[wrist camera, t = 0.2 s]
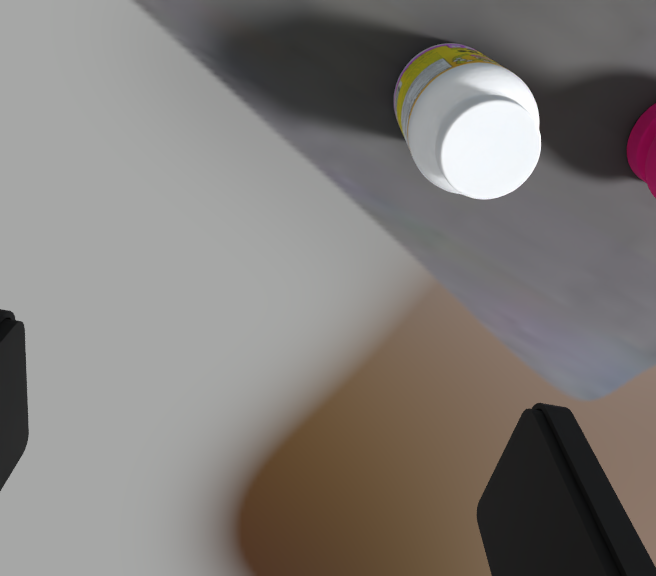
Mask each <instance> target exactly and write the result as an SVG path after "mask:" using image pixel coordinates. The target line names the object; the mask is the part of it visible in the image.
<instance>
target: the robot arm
mask: <svg viewBox="0 0 656 576" xmlns="http://www.w3.org/2000/svg"><path fill="white" fill-rule="evenodd" d="M26 379H27V378H26V353H25V329H24V324H23V322H21V321H16V320H15V316H14V314H13V313H12V312H11V311H6V310H1V309H0V491H1V489H2V487H3V486H4V484H5V482H6V481H7V479H8V478H9V476H10V474H11V473H12V471H13V469H14V468H15V466H16V464H17V463H18V461H19V459H20V458H21V456H22V454H23V452H24V450H25V447H26V445H27V441H28V434H29V432H28V431H29V430H28V405H27V380H26ZM477 522H478V525H479V529H480V533H481V537H482V540H483V544H484V548H485V552H486V556H487V559H488V563H489V566H490V570H491V574H492V576H656V567H655V566H654V564H653V562H652V560H651V558H650V556H649V554H648V553H647V551H646V549H645V547H644V545H643V544H642V542H641V540H640V538H639V536H638V534H637V532H636V530H635V529H634V527H633V525H632V523H631V521H630V519H629V517H628V516H627V514H626V512H625V510H624V508H623V506H622V504H621V503H620V501H619V499H618V497H617V495H616V493H615V491H614V490H613V488H612V486H611V484H610V482H609V480H608V478H607V477H606V475H605V473H604V471H603V469H602V467H601V466H600V464H599V462H598V460H597V458H596V456H595V454H594V452H593V451H592V449H591V447H590V445H589V443H588V441H587V439H586V438H585V436H584V434H583V432H582V430H581V428H580V426H579V425H578V423H577V421H576V419H575V417H574V415H573V414H572V412H571V411H570V410H569V409H568V408H566V407H560V406H554V405H549V404H543V403H537V404H535V405H534V406H533V407H532V409H526V410H525V411H524V412H523V413H522V415H521V417H520V419H519V421H518V423H517V425H516V427H515V429H514V431H513V433H512V436H511V438H510V440H509V442H508V444H507V446H506V448H505V450H504V452H503V454H502V456H501V458H500V460H499V462H498V464H497V466H496V468H495V470H494V472H493V474H492V476H491V478H490V480H489V482H488V485H487V486H486V489H485V491H484V493H483V495H482V497H481V499H480V501H479V503H478V507H477Z"/></svg>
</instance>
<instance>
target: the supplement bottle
mask: <svg viewBox="0 0 656 576" xmlns="http://www.w3.org/2000/svg"><path fill="white" fill-rule="evenodd" d="M394 110H395V115H396V119H397V122H398V124H399V127H400V129H401V131H402V133H403V136H404V138H405V140H406V142H407V145H408V147H409V149H410V152H411V155H412V157H413V159H414V161H415V163H416V165H417V167H418V168H419V170H420V171H421V173H422V174H423V175H424V176H425V177H426V178H427V179H428V180H429V181H430V182H432V183H433V184H434V185H436V186H438V187H439V188H441V189H443V190H446V191H449V192H452V193H457V194H463V195H465V196H468V197H471V198H475V199H492V198H497V197H500V196H503V195H506V194H508V193H510V192H512V191H514V190H515V189H516V188H518V187H519V186H520V185H522V184H523V183H524V181H525V180H526V179H527V178H528V177H529V176H530V174H531V173H532V171H533V170H534V168H535V166H536V164H537V161H538V159H539V155H540V151H541V135H540V131H539V113H538V108H537V104H536V101H535V99H534V97H533V95H532V93H531V91H530V90H529V88H528V87H527V85H526V84H525V83H524V82H523V81H522V80H521V79H520V78H519V77H518V76H517V75H515V74H514V73H512V72H511V71H509V70H508V69H506V68H504V67H503V66H501V65H499V64H498V63H496V62H495V61H493V60H491V59H490V58H488V57H487V56H485V55H483V54H482V53H480V52H478V51H477V50H475V49H473V48H470V47H468V46H465V45H462V44H456V43H445V44H438V45H435V46H432V47H429V48H427V49H425V50H423V51H422V52H420V53H419V54H417V55H416V56H415V57H414V58H412V59H411V61H410V62H409V63H408V64H407V65H406V67H405V68H404V69H403V71H402V72H401V74H400V76H399V78H398V81H397V84H396V87H395V92H394Z"/></svg>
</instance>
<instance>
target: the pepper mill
mask: <svg viewBox="0 0 656 576" xmlns="http://www.w3.org/2000/svg"><path fill="white" fill-rule="evenodd" d="M627 158H628V162H629V165H630V167H631V169H632V171H633V172H634V173H635V174H636V175H637V176H638V177H639V178H640V179H642V180H643V181H644V182H646V183H647V184H648V187H649V189H650V191H651V193H652V194H653V196H654V197H655V198H656V103H655V104H654V105H652V106H651V107H649V108H648V109H647V110H646V111H645V112H644V113H643V114H642V115H641V116H640V118H639V119H638V121H637V122H636V124H635V125H634V127H633V129H632V131H631V133H630V136H629V139H628V144H627Z"/></svg>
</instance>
